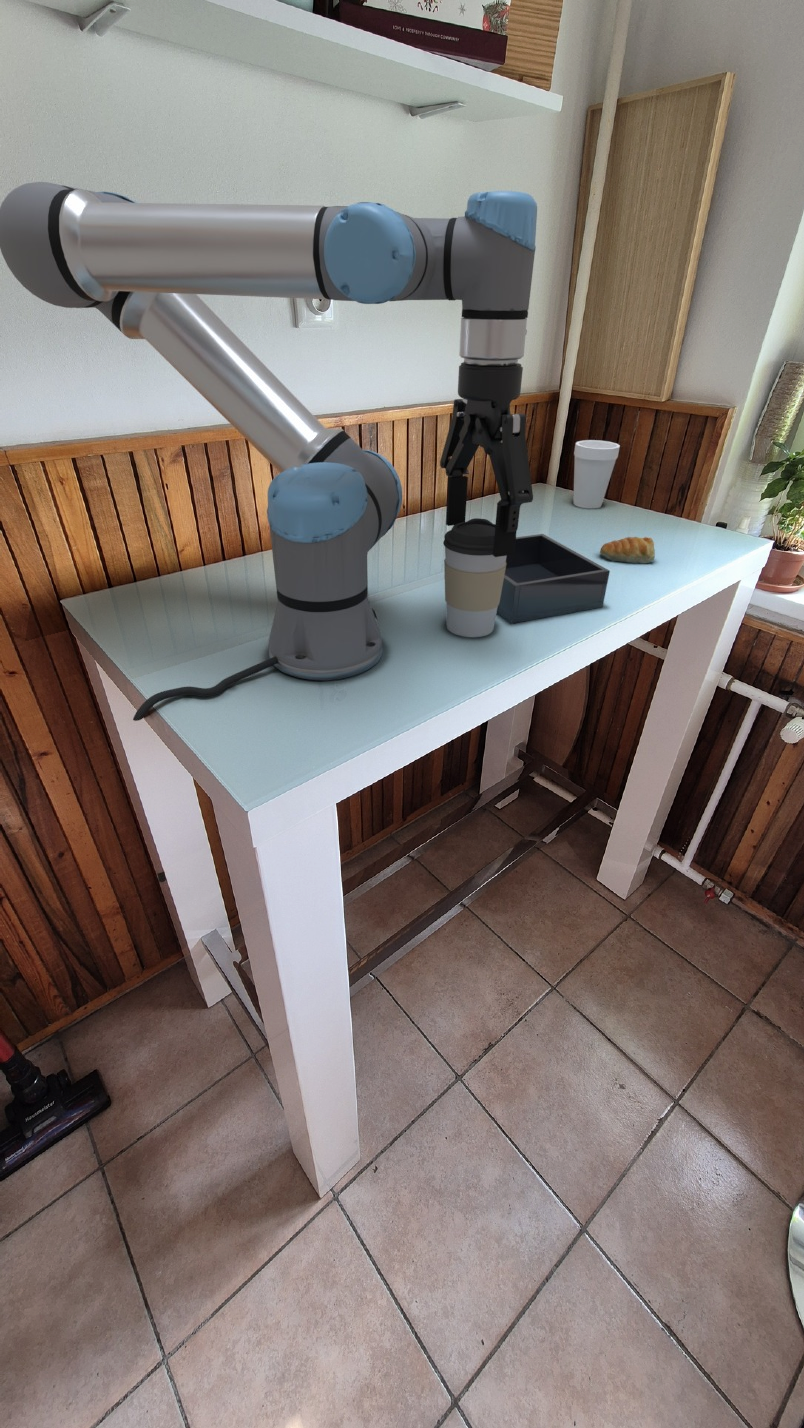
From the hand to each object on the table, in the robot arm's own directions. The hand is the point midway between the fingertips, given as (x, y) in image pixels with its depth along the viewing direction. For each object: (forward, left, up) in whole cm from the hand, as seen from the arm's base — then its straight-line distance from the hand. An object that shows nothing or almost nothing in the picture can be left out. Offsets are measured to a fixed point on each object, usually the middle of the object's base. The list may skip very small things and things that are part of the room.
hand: (478, 538), depth 87 cm
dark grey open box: (+14, +8, -13) cm, 21 cm away
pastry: (+41, +15, -13) cm, 46 cm away
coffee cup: (0, 0, -13) cm, 13 cm away
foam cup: (+55, +47, -13) cm, 74 cm away
